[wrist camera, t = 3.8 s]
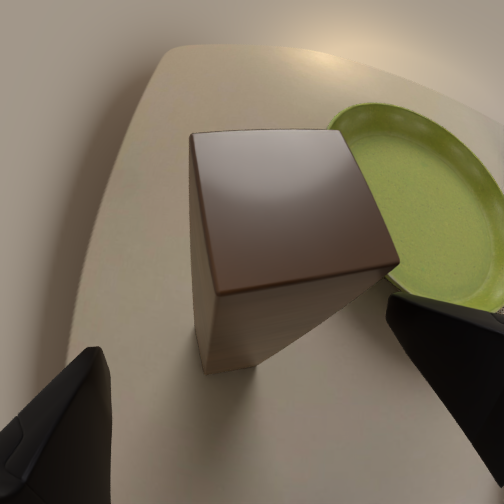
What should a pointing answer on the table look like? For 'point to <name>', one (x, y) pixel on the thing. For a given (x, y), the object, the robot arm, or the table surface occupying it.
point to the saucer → (431, 204)
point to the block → (277, 239)
